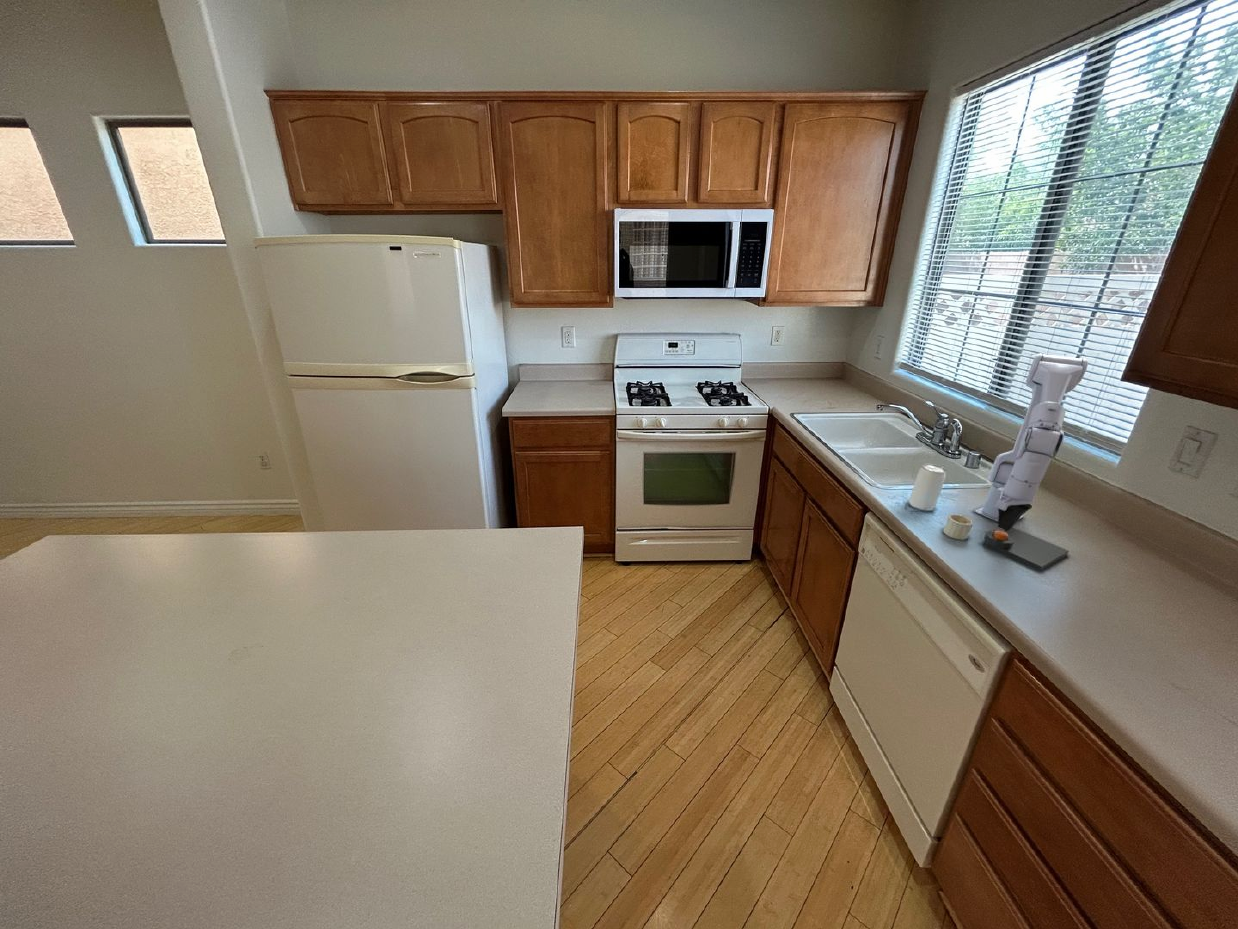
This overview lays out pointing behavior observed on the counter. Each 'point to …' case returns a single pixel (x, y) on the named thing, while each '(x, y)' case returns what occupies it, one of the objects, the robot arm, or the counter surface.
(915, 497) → the can
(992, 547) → the scale
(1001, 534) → the tare button
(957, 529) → the bowl
